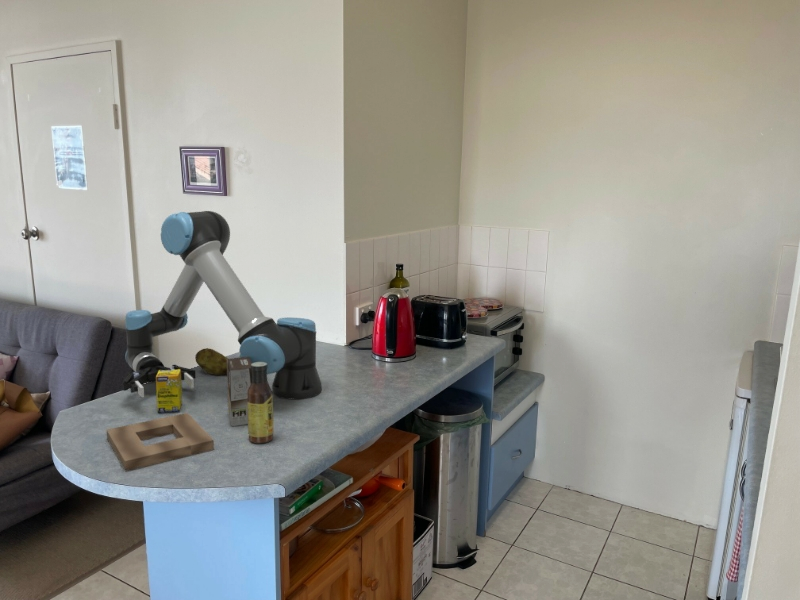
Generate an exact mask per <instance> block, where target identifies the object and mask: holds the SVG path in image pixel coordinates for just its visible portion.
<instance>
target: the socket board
mask: <svg viewBox="0 0 800 600" xmlns="http://www.w3.org/2000/svg"><path fill="white" fill-rule="evenodd" d="M167 435H169V436H170V435H174V436H175V438H174V439H169V440H165V441H160V442H156V443H153V444H152V443H151V444H148V445H145V444H144V443H143V442H142V441H145V440H150V439H155V438H159V437H163V436H167ZM106 439H107V441H108V443H109V444H110V446H111V448H112V450H113V451H114V454H115V456H116V457H117V459H118V461H119V463H120V464H121V466H122V468H123V467H124V468H123V469H124V471H125V472H130V471H133V469H134V470H137V468H138V469H142V468H146V467H149V466H155V465H158V464H161V463H165V462H170V461H174V460H176V459H177V460H178V459H181V458H182V459H183V458H185V457H189V456H193V455H197V454H202V453H205V452H209V451H213V450H215V447H214V446H215V444H214V442H215V441H214V440H215V439H214V438H212V436H210V435H209V434H208V433H207V431H206V430H205V429H204V428H203V427H202V426H201V425H200V424H199V423H198V421H196V420H195V419H194V418H193V417H192V416H191V415H190V413H188V412H186V413H185V412H184V413H181V414H175V415H172V416H171V415H170V416H166V417H161V418H157V419H152V420H147V421H142V422H137V423H132V424H126V425H122V426H117V427H113V428H108V429H106ZM141 467H142V468H141ZM129 470H130V471H129Z"/></svg>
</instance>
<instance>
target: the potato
mask: <svg viewBox="0 0 800 600" xmlns="http://www.w3.org/2000/svg"><path fill="white" fill-rule="evenodd" d="M227 359H229V357H226V356H225V355H223V353H221V352H219V351H217V350H215V349H213V348H208V347H207V348H201V350H198V351H197V352H196V354H195V362H196V364H197V366H199V367H200V368H201V369H202V370H205V371H206V372H207V373H208V374H210V375H214V376H223V375H227Z"/></svg>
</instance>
